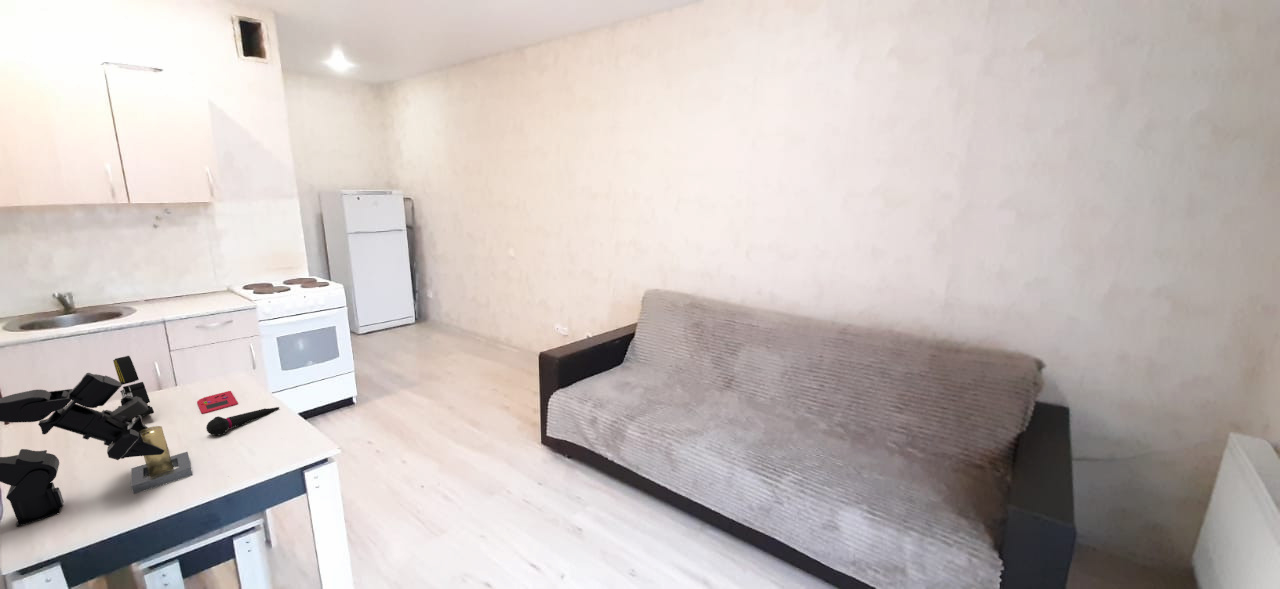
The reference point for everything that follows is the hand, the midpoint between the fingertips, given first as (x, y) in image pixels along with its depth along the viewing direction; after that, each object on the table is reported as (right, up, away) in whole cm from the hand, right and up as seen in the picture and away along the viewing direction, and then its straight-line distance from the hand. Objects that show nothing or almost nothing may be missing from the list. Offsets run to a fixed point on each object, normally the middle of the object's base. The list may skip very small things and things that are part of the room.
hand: (162, 445), depth 129 cm
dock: (-1, -8, +1) cm, 8 cm away
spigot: (-1, -8, +1) cm, 8 cm away
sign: (-41, 0, +35) cm, 54 cm away
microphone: (0, -2, +28) cm, 28 cm away
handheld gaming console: (-22, +1, +43) cm, 48 cm away
